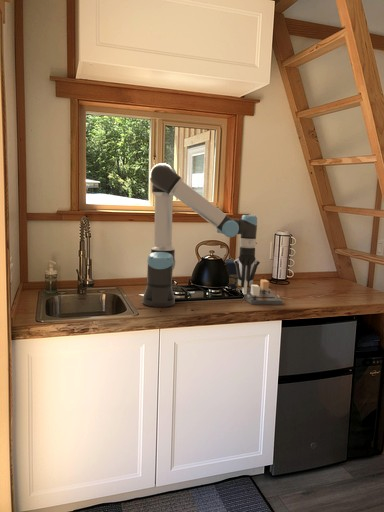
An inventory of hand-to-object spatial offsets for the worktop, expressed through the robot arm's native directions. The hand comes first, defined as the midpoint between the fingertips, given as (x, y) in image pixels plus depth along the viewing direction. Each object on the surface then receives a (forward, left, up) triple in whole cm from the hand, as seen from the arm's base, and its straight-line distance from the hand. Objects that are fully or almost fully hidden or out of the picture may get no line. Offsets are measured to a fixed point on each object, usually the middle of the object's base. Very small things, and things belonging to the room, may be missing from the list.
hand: (244, 293), depth 216 cm
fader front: (+5, 0, -2) cm, 6 cm away
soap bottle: (+10, +36, -4) cm, 38 cm away
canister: (-3, +20, -4) cm, 21 cm away
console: (+10, +7, -4) cm, 13 cm away
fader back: (+14, +13, -2) cm, 19 cm away
